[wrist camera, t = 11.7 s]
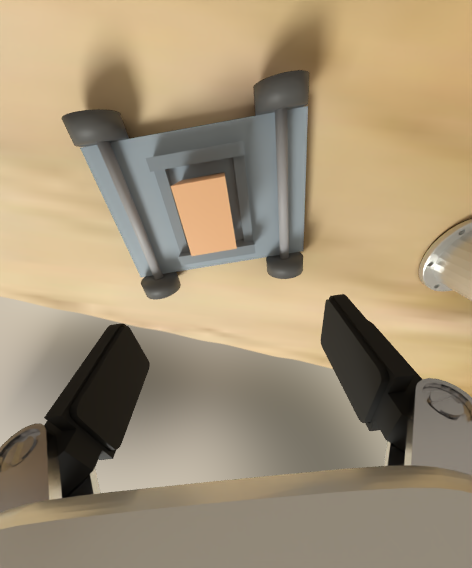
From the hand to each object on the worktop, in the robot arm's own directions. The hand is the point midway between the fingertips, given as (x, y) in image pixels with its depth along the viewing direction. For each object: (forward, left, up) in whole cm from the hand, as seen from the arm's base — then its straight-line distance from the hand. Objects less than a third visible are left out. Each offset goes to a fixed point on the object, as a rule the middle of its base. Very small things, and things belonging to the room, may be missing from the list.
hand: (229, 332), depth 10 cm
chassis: (+2, -2, -21) cm, 21 cm away
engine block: (+2, -2, -19) cm, 20 cm away
